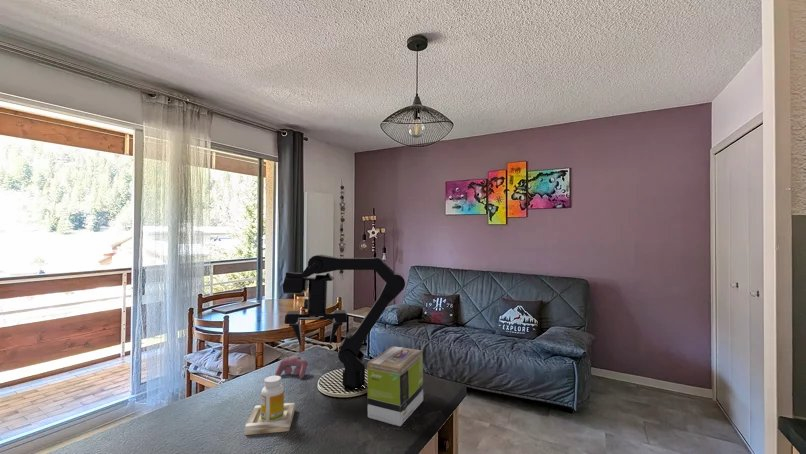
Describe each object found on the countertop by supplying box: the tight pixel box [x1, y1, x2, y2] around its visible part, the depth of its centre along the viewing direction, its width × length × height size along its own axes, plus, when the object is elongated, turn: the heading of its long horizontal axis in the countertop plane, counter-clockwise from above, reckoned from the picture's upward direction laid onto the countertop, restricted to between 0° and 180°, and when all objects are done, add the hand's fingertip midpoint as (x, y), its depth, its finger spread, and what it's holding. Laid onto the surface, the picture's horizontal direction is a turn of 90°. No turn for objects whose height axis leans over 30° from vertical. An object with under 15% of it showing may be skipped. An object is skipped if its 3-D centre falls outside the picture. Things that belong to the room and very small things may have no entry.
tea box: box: [366, 345, 424, 427], centre depth 92 cm, size 15×10×15 cm
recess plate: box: [244, 402, 296, 436], centre depth 85 cm, size 10×10×2 cm
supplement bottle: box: [260, 375, 285, 422], centre depth 85 cm, size 5×5×10 cm
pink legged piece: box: [274, 356, 309, 380], centre depth 114 cm, size 10×5×7 cm, turn 85°
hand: (315, 344), depth 106 cm, fingers open, 9 cm apart
